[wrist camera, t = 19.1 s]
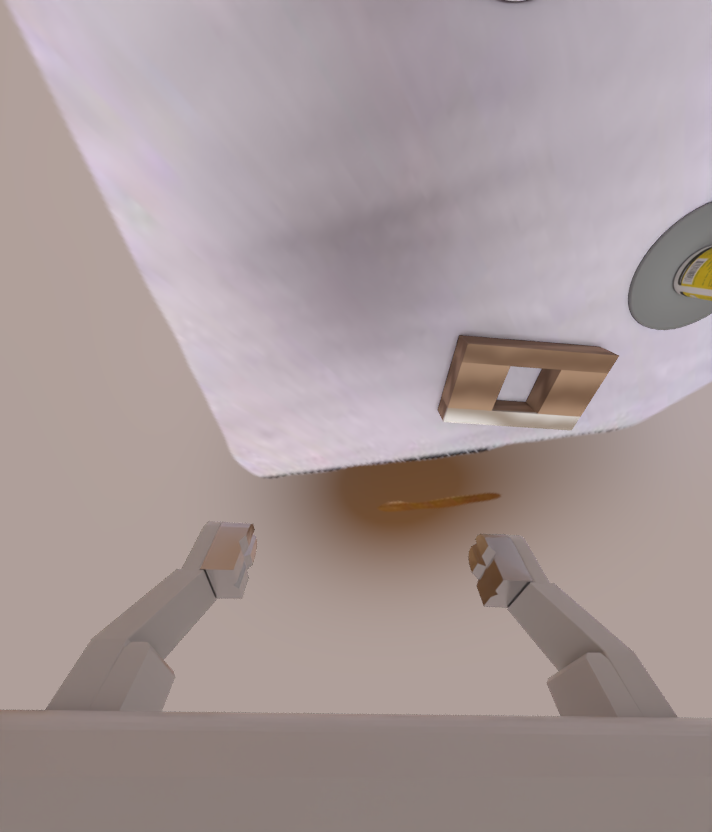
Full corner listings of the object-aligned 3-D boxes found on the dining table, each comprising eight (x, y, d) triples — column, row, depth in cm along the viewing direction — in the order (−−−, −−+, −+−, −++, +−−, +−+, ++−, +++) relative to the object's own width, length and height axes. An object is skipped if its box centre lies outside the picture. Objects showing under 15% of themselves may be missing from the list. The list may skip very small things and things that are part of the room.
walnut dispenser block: (459, 335, 37) (468, 343, 34) (599, 346, 38) (619, 355, 35) (437, 409, 44) (443, 422, 41) (557, 418, 45) (571, 430, 42)
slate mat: (682, 189, 29) (688, 188, 28) (804, 203, 30) (811, 202, 29) (605, 324, 37) (608, 325, 36) (703, 332, 37) (707, 333, 37)
